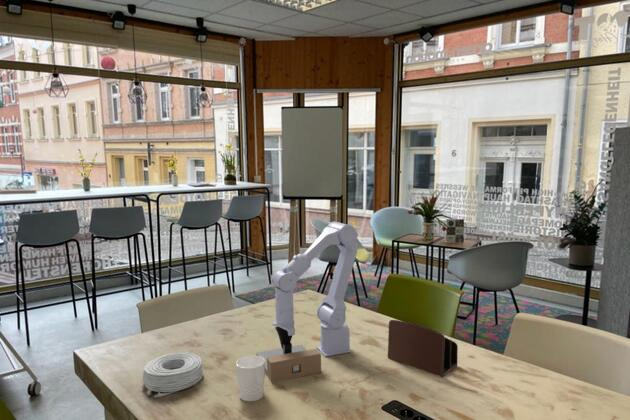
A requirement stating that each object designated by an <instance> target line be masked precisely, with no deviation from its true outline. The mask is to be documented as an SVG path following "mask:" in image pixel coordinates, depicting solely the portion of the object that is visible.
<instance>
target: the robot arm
mask: <svg viewBox="0 0 630 420" xmlns="http://www.w3.org/2000/svg"><path fill="white" fill-rule="evenodd" d="M358 236H359V233H358V232H357V230H356V229H355V227H354V226H353V225H352V224H346V223H342V222H339V221H336V220H333V221H331V222H330V223H329V224H328V225H327V226H325V227H324V228H323V230H322V232H321V234H320V235H319V236H318V237H317V238H316V239H315V241H313V243H312V244H310V246H309V247H308V248H307V249H306V250H305V251H304V253H298V254H295V255H293V256H292V259H291V260H290V262H288V264H286V265H285V266H283V267H282V269H280V270H278V271H276V272H275V273H274V275H273V277H272V278H271V284H272V285H273V286H274V292H275V293H274V294H275V296H274V298H275V299H274V301H275V302H274V303H275V321H273V322H272V323H271V324H272V326H273V327H274V328H275V331H276V333H277V336H278V339H279V342H280V347H281V348H282V349H283V343H288V342H291V341H292V338H293V336H296V329H295V318H294V317H295V316H294V315H295V314H294V313H295V312H294V289H296V287H297V282H298V280H299V279H300V278H301V277H302V276H303V275H304V274H305V273H306V272H307V271H308V270H309V269H310V268H311V266H312V261H313V260H314V259H315V258H316V257H318V256H319V255H320V254H321V253H322V252H323V251H325V249H326V248H328V247H329V246H334V245H335V246H337V248H338V249H339V251H340V252H339V256H338V259H337V263H336V266H335V270H334V273H333V277H332V281H331V283H330V287H329V289H328V294H327V296H325V297H323V298H322V300H321V304H319V306H318V308H317V310H316V316H317V318H318V319H319V320H320V345H317V346H316V349H317V350H318V351H319V352H320V353H321V355H323V356H324V357H331V356H335V355H341V354H342V355H343V354H346V353H347V354H348V353H351V349H350V348H351V345H350V341H351V340H350V338H351V335H350V329H349V326H348V324H347V323H346V320H347V317H346V311H347V307H346V303H345V300H344V299H345V296H346V292H347V289H348V286H349V283H350V278H351V274H352V271H353V267H354V264H355V260H356V257H357V254H358V241H357V238H358ZM291 343H292V342H291Z"/></svg>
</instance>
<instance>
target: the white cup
mask: <svg viewBox="0 0 630 420" xmlns="http://www.w3.org/2000/svg"><path fill="white" fill-rule="evenodd" d="M235 366H236V378H237V385H238V388H237V389H238V393H239V394H238V395H239V399H241V400H242V401H245V402H255V401H258V400H260V399H262V398H263V396H264V395H265V393H264V392H265V391H264V390H265V389H264V388H265V375H266V372H265V360H264V358H263V357H261V356H257V354H255V355H253V354H250V355H244V356H242V357H240V358H238V359H237V360H236V362H235Z"/></svg>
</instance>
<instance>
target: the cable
mask: <svg viewBox="0 0 630 420" xmlns="http://www.w3.org/2000/svg"><path fill="white" fill-rule="evenodd" d="M203 374H204V368H203V360H202V358H201V357H200V356H198V355H197V354H195V353H192V352H188V351H176V352H175V351H174V352H169V353H166V354H164V355H160V356H158V357H156V358H154V359H152V360H151V361H149V362H147V364H145V365H144V367H143V370H142V376H141V380H142V383H143V385H144V386H145V388H146V389H147V391H146V395H147V396H151V395H152V392H156V393H157V394H155V395H154V396H153V399H155V398H156V399H157V398H162V397H165V396H167V395H171V394H173V393H176V392H179V391H183V390H185V389H188V388H190V387H192V386H194V385H196V384H197V383H199V382H200V381H201V379H202V378H203Z"/></svg>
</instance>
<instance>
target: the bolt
mask: <svg viewBox="0 0 630 420" xmlns="http://www.w3.org/2000/svg"><path fill="white" fill-rule="evenodd" d="M292 346H293V344H292V342H288V343H283V354H288V353H292ZM292 371H293V372H295V371H299V365H294V366H292Z"/></svg>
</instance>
